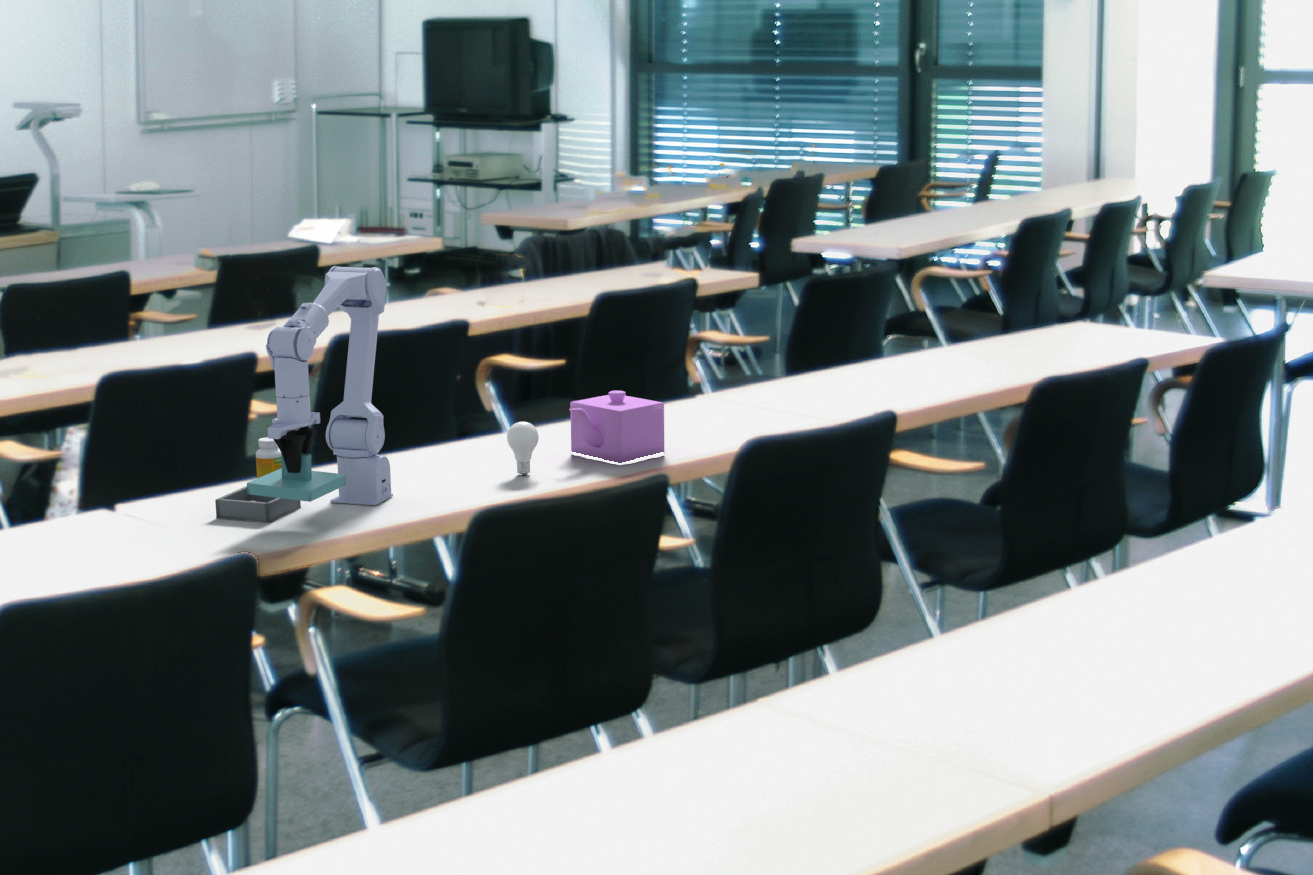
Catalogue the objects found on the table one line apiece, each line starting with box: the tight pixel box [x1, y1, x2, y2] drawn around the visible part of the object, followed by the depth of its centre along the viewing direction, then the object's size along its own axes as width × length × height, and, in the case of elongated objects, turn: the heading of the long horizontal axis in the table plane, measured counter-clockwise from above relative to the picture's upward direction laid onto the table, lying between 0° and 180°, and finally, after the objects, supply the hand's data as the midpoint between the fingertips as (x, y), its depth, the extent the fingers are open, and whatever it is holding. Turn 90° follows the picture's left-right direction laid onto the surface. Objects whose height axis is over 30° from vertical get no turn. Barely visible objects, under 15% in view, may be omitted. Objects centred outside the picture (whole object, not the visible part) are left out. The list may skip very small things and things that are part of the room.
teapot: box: [568, 390, 665, 463], centre depth 331 cm, size 15×25×14 cm, turn 136°
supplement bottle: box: [255, 436, 282, 479], centre depth 306 cm, size 5×5×10 cm
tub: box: [215, 485, 302, 524], centre depth 288 cm, size 11×11×4 cm
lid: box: [246, 453, 345, 503], centre depth 276 cm, size 12×12×6 cm
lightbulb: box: [506, 421, 539, 476], centre depth 315 cm, size 6×6×11 cm
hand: (297, 471), depth 276 cm, fingers closed on lid
